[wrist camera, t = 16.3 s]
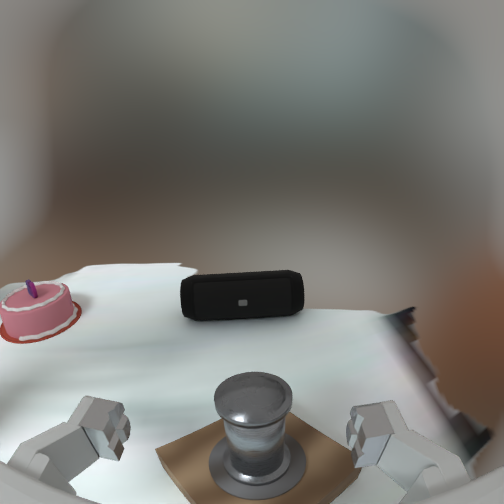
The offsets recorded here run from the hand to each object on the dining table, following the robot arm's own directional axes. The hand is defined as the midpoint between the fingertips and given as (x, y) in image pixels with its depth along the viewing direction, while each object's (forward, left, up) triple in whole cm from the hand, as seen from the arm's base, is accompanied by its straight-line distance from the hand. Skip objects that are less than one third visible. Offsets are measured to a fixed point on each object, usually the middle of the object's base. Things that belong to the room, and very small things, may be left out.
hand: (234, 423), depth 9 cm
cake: (-73, -12, -24) cm, 78 cm away
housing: (-9, +8, -19) cm, 23 cm away
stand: (-9, +8, -24) cm, 27 cm away
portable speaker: (-44, +32, -24) cm, 59 cm away
